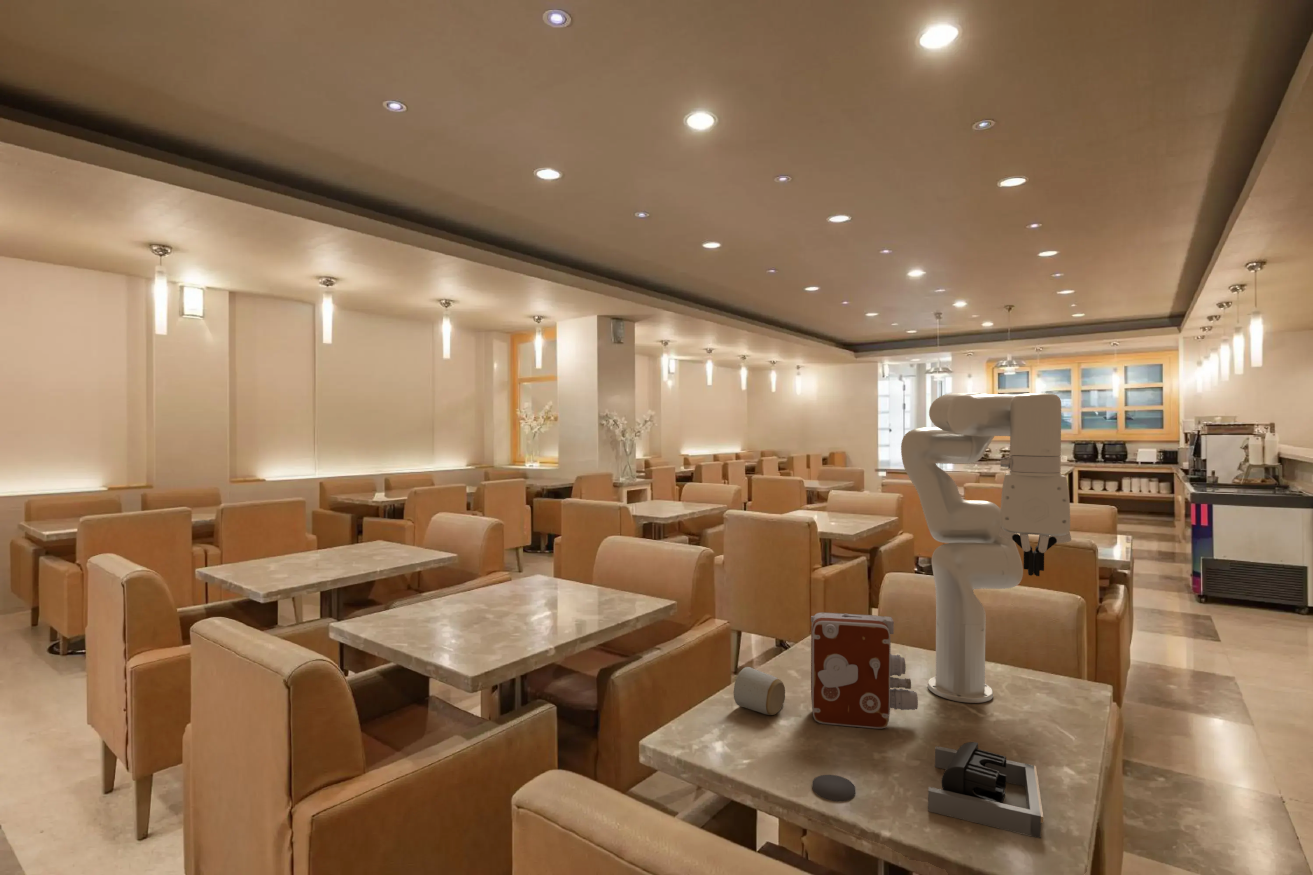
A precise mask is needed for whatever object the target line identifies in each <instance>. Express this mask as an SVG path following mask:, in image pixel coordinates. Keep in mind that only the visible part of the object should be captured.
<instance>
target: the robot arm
mask: <svg viewBox="0 0 1313 875" xmlns="http://www.w3.org/2000/svg"><path fill="white" fill-rule="evenodd" d="M928 415H929V419H930V422H932V424H933V425H934V426H933V427H932V426H931V427H930V426H928V427H927V426H925V427H918V428H914V429H912V430H909V431H908V432H906V433H905V434H904V435H903V436H902V440H901V444H900V445H901V446H900V451H901V452H900V454H901V455H900V456H901V461H902V465H903V468H904V471H905V473H906V475H907V476H908V479H909V480H910V481H911V483H912V485H913V486H914V488H915V490H916V492H917V495H918V497H919V501H920V502H919V503H920V505H921V507H922V508H921V509H922V512H923V515H924V519H925V522H926V526H927V528H928V531H929V533H930V536H931V537H932V538H933V539H934V540H935V541H936V542H939V543H942V544H941V545H939V546H937V547H936V548H935V549H934V551H933V553H932V555H931V569H932V574H933V580H934V587H935V607H936V608H935V616H936V618H935V676H933V677H931V678H930V679H929V678H928V681H927V688H928V690H929V691H930V692H931V693H933V694H934V695H936V696H939V697H941V698H942V699H946V700H949V701H955V702H959V703H966V704H967V703H968V704H969V703H970V704H979V703H987V702H989V701H991V700H992V699H993V698H994V691H993V689H992V688H991V687H990V686H989V685H988V684H986V610H985V608H984V605H983V604H982V603H981V601H980V599H979V598H978V597H977V596H976V594H975V593H974V590H980V589H986V590H987V589H989V590H990V589H993V590H995V589H1011V588H1012V589H1013V588H1015V587H1017V586H1018V585H1020V583H1021V581H1022V580H1023V576H1024V570H1027V574H1028V576H1031V577H1032V576H1036V577H1041V576H1040V572H1042V571H1043V572H1044V571H1045V553H1046V552H1047V551H1048V550H1049V549H1051V548H1052V547H1053V546H1054V545H1056V544H1063V543H1070V542H1071V541H1072V535H1071V533H1070V532H1071V531H1070V530H1071V502H1070V490H1069V485H1068V484H1069V483H1068V480H1067V475H1063V474H1061V472H1062V471H1061V470H1062V469H1061V468H1062V467H1061V466H1062V463H1061V462H1062V457H1061V452H1062V444H1061V443H1062V400H1061V398H1060V397H1059V396H1058V395H1057V394H1055V393H1054V394H1053V393H1043V392H1042V393H1041V392H1040V393H1037V392H1036V393H1022V394H989V393H981V392H963V393H962V392H960V393H959V392H957V393H953V392H951V393H947V394H943V395H940V396H939V397H937V398H936V399H935V400H934V401H933V402H932V403H931V405H930V407H929V411H928ZM995 437H1009V457H1007V458H1006V457H1005V458H1000V467H1002V468H1007V469H1009V473H1005V474H1004V477H1003V482H1002V489H1001V498H1000V506H998V505H997V504H996V503H995V502H992V501H990V500H989V501H987V500H973V499H972V500H970V499H969V500H967V499H964V498H963V497H962V496H961V494H960V492H959V491H960V490H959V488H958V486H957V482H955V480H954V479H953V477H952V476H950V475H949V474H948V473H947V472H946V471H945V470H943V469H942V468H941V467H939V466H938V465H937V464H945V465H947V464H954V465H956V464H957V465H958V464H959V465H962V464H967V465H968V464H974V463H976V462H978V461H979V460H981V458H982V457H983V456H984V454H985V453H986V451H987V450H988V448H989V446H990V444H991V443H992V441H993V439H994V438H995ZM1030 535H1037V536H1038V535H1039V536H1038V542H1037V545H1036V546H1035V547H1034V548H1035V550H1033V547H1032V546H1031V543H1030V537H1029V536H1030ZM1017 545H1018V547H1019V548H1021V549H1022V551H1023V562H1022V558H1021V555H1020V552H1019V548H1018V547H1017Z"/></svg>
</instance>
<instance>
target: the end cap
mask: <svg viewBox="0 0 1313 875" xmlns="http://www.w3.org/2000/svg"><path fill="white" fill-rule="evenodd" d="M957 750H958V751H957V752H956V754H955V756H954V757H953V759H952V761H951V762H950V764H949V766H948V767H947V769H944V772H943V774H942V777H941V787H942V790H945V791H950V792H954V793H959V794H963V795H968V796H972V797H976V798H981V799H985V800H990V801H994V802H999V803H1003V802H1004V799H1005V798H1006V791H1005V790H1006V786H1007V782H1006V775H1004V774H1001V773H999V771H997V770H993V769H990V768H986V766H985V764H986V763H990V764H994V765H998V766H1001V767H1005V768H1006V760H1007V756H1005V755H1002V754H999V753H994V752H991V751H988V750H984V749H980V748H979V742H975V741H969V742H965V743H963V744H962V745H960V746H959V748H958V749H957ZM1003 804H1004V803H1003Z"/></svg>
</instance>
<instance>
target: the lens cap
mask: <svg viewBox="0 0 1313 875" xmlns="http://www.w3.org/2000/svg"><path fill="white" fill-rule="evenodd" d="M811 786H812V790H813V793H815V794H816V796H818V797H821V798H823V799H825V800H828V801H831V802H832V801H833V802H847V801H850V800H852V799H853V798H855V796H856V786H855V784H854V783H853V782H852V781H851V780H849V779H847V778H846V777H844V776H843V777H842V776H840V775H836V774H835V775H834V774H820V775H818V776H816V777H814V779H813V780H812V785H811Z"/></svg>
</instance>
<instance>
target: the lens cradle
mask: <svg viewBox="0 0 1313 875" xmlns="http://www.w3.org/2000/svg"><path fill="white" fill-rule="evenodd" d="M957 751H958V749H953V748H948V747H943V746H939V745H938V746H937V745H935V748H934V767H935V768H938V769H944V770H946V769H947V767H948V766H949V764H950V762H951V761H952V759H953V757H954V756H955V754H956V752H957ZM985 766H986V768H990V769H993V770H997V771H999V773H1001V774H1004V775H1006V783H1008V784H1014V785H1017V786H1022V787H1024V788H1025V789H1024V790H1025V798H1026V806H1027V807H1026V808H1025V807H1019V806H1015V805H1011V804H1007V803H999V802H994V801H990V800H985V799H981V798H976V797H972V796H968V795H963V794H959V793H954V792H950V791H945V790H943V789H941V788H936V787H933V786H928V791H927V793H928V794H927V799H928V800H927V808H928V809H927V811H928V812H930V813H933V814H938V815H942V816H947V817H951V818H955V819H959V820H964V821H967V822H972V823H976V824H979V825H982V826H983V825H984V826H989V827H991V828H995V829H999V830H1005V831H1009V832H1013V833H1017V834H1020V835H1025V836H1030V837H1033V838H1037V839H1041V835H1042V834H1041V833H1042V832H1041V828H1042V827H1041V826H1042V825H1041V824H1042V823H1044V813H1043V812H1044V811H1043V805H1042V800H1041V799H1042V797H1041V791H1040V786H1039V784H1040V783H1039V777H1038V771H1037V766H1036V765H1035V764H1034V765H1032V764H1029V763H1024V762H1019V761H1014V760H1009V759H1006V768H1005V767H1001V766H998V765H994V764H990V763H986V764H985Z"/></svg>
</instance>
